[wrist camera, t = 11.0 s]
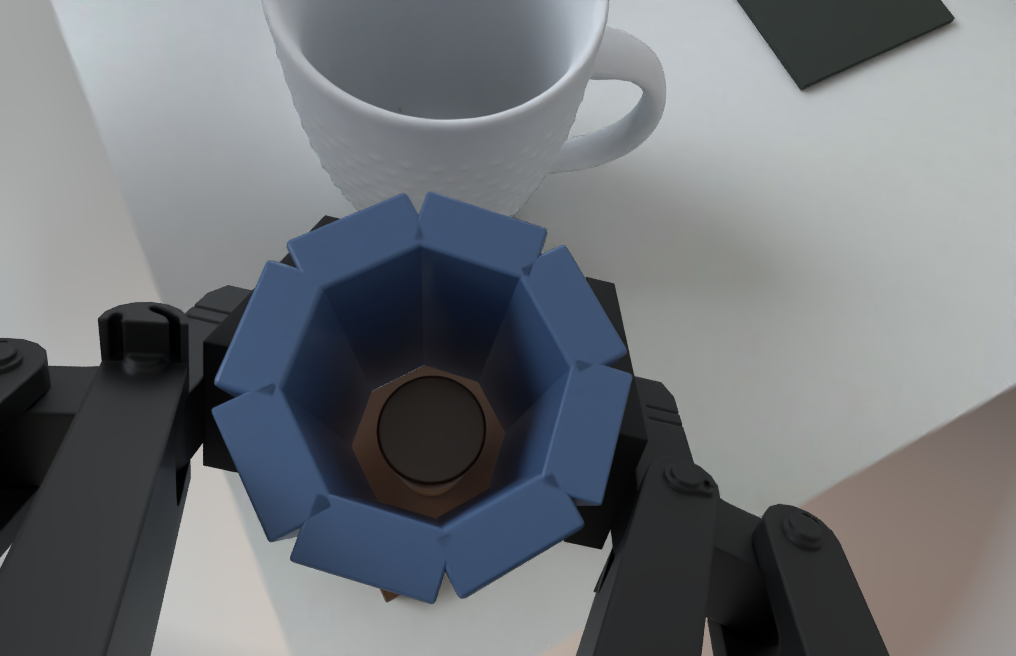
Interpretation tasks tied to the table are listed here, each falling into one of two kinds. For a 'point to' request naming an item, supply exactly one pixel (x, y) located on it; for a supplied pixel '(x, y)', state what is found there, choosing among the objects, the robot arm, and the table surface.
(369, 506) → the sleeve
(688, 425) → the table surface
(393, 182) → the mug
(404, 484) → the dowel stand
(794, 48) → the mat
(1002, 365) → the table surface
